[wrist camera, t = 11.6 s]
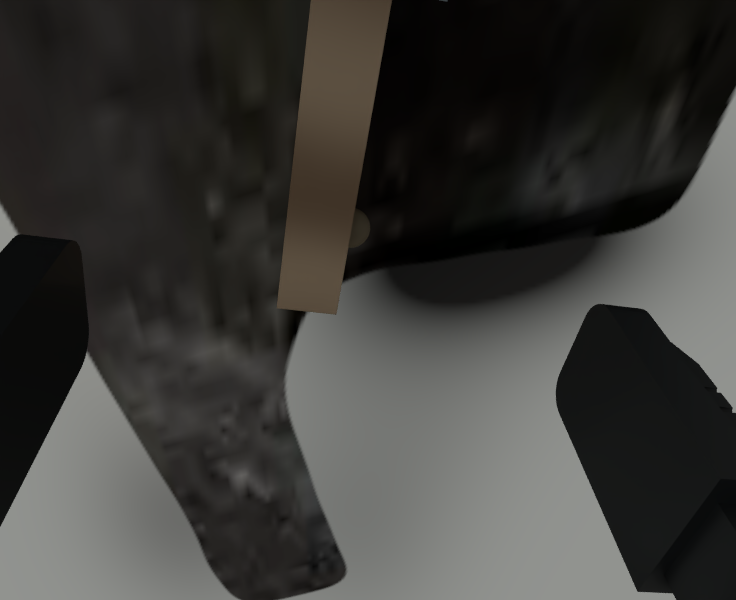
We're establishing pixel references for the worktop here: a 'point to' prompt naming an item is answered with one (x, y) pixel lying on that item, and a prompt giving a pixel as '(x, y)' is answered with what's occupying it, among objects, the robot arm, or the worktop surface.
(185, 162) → the worktop surface
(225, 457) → the worktop surface
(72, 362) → the robot arm
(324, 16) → the walnut door
